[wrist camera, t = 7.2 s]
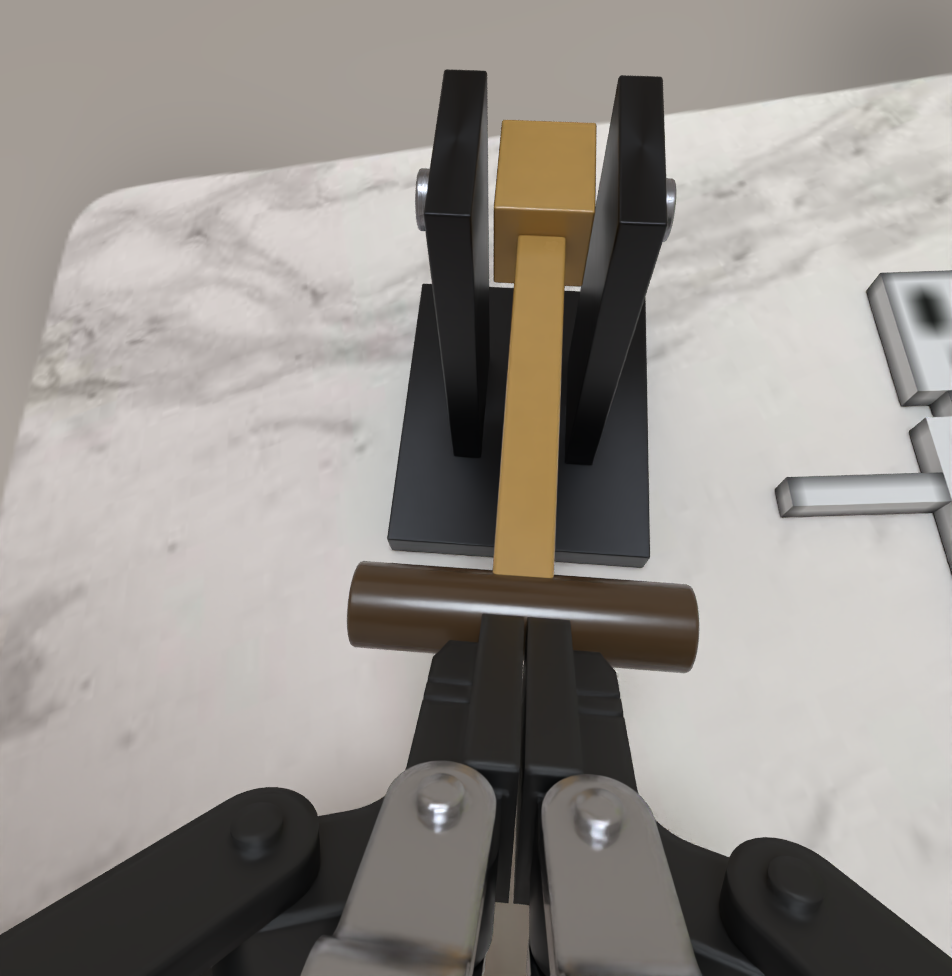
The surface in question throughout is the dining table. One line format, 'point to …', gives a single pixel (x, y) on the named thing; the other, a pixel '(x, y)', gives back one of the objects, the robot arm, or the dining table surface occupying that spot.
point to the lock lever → (531, 449)
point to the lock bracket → (486, 338)
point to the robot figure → (919, 381)
